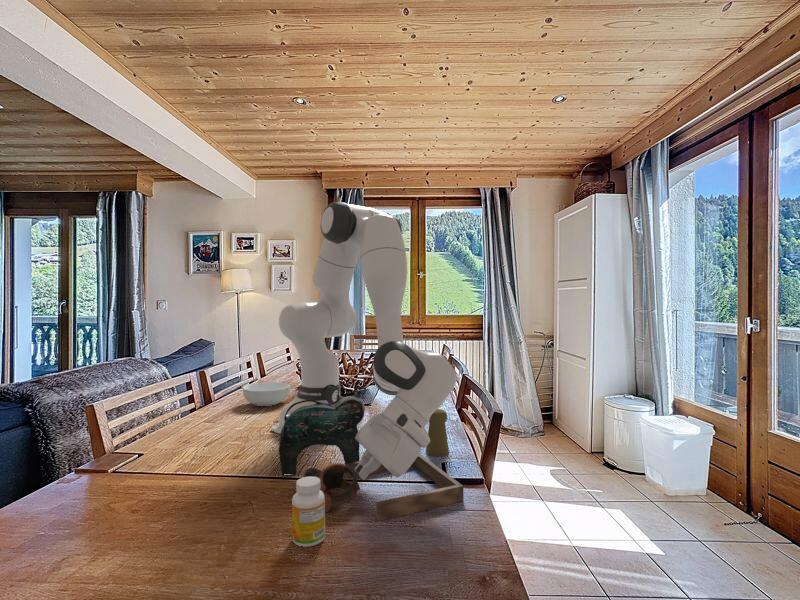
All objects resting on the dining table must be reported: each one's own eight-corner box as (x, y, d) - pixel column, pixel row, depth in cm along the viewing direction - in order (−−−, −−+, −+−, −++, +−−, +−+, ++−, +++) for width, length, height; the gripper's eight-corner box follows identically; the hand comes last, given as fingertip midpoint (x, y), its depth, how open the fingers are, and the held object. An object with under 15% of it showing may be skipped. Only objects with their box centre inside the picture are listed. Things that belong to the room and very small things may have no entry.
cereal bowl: (263, 412, 152) (263, 392, 152) (233, 406, 161) (233, 387, 161) (299, 402, 166) (299, 384, 166) (270, 397, 175) (269, 379, 175)
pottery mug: (364, 492, 91) (367, 466, 87) (346, 533, 83) (349, 506, 79) (311, 473, 93) (312, 447, 89) (289, 511, 85) (290, 484, 81)
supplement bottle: (295, 530, 75) (294, 475, 75) (326, 529, 76) (325, 473, 76) (289, 548, 70) (289, 488, 70) (323, 546, 70) (322, 487, 70)
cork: (448, 457, 109) (447, 413, 109) (424, 455, 110) (423, 412, 110) (450, 448, 115) (449, 407, 114) (427, 447, 116) (427, 406, 116)
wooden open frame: (416, 463, 105) (416, 451, 105) (463, 501, 85) (463, 486, 85) (344, 476, 97) (344, 463, 97) (378, 521, 78) (378, 504, 78)
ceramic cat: (364, 462, 106) (363, 380, 106) (367, 473, 99) (366, 386, 99) (280, 468, 102) (279, 384, 102) (277, 480, 96) (276, 390, 96)
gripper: (374, 400, 100) (334, 449, 96) (413, 424, 81) (364, 486, 77) (392, 417, 102) (353, 466, 98) (434, 444, 83) (388, 505, 79)
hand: (358, 475), depth 88 cm, fingers closed
